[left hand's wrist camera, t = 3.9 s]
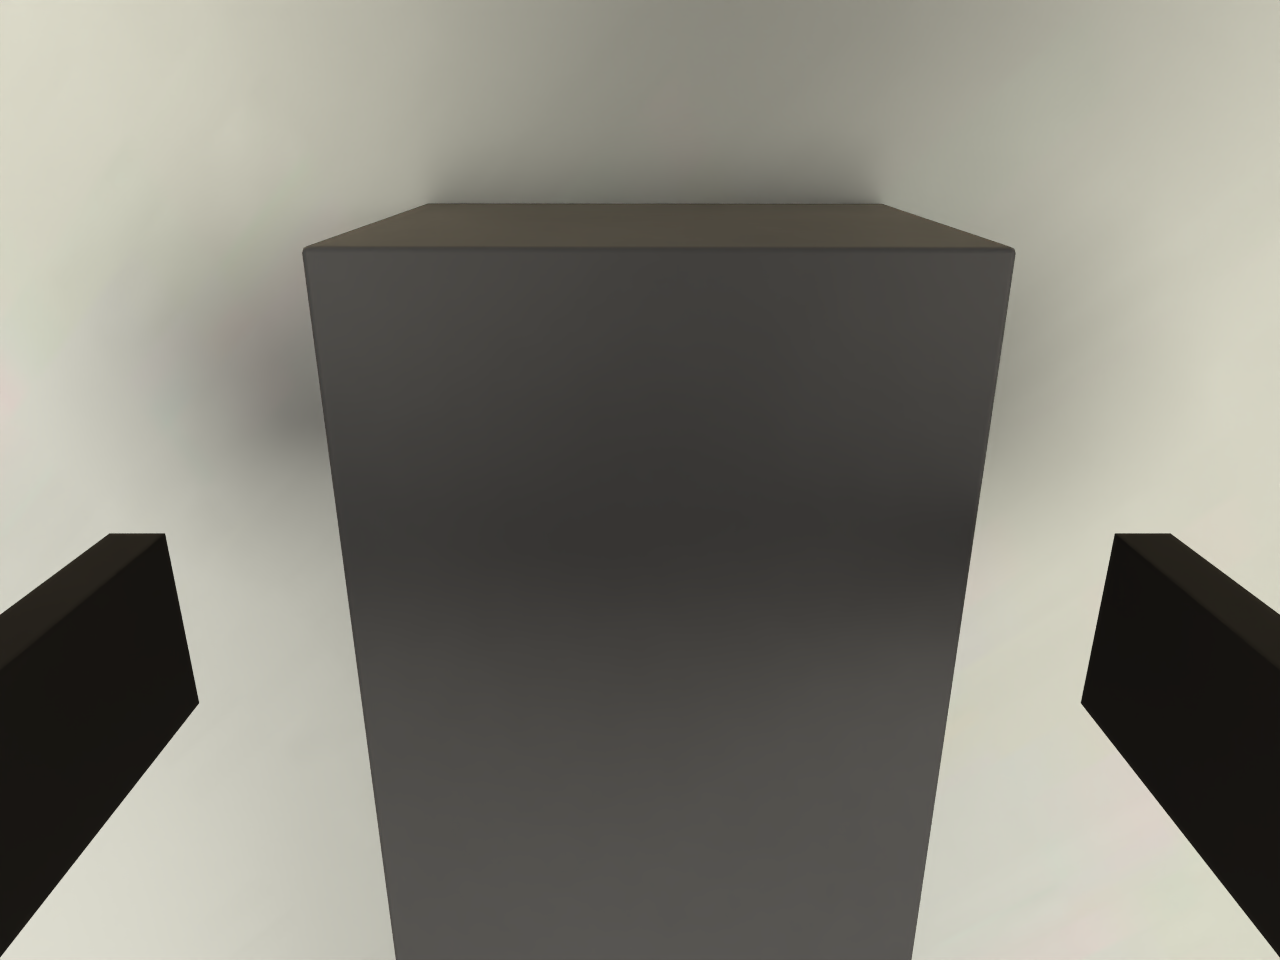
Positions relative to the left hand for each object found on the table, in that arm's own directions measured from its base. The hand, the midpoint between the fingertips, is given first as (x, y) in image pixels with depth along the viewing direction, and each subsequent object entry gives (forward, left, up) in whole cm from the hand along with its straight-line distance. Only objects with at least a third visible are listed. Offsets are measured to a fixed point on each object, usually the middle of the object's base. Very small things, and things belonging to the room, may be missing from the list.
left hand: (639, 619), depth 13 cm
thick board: (+29, +6, -9) cm, 31 cm away
